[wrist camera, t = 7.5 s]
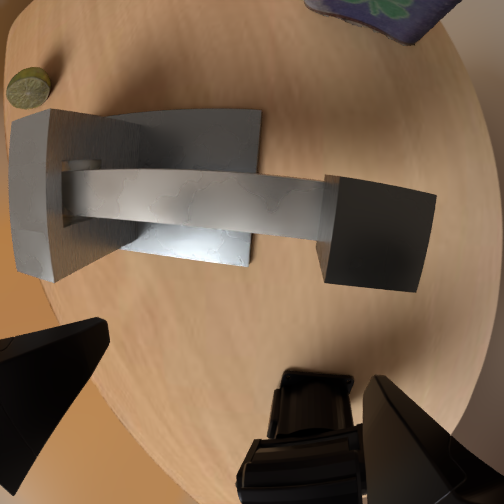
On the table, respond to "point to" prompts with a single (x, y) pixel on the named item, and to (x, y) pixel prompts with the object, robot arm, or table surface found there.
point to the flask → (388, 15)
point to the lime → (29, 88)
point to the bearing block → (114, 157)
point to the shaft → (275, 214)
